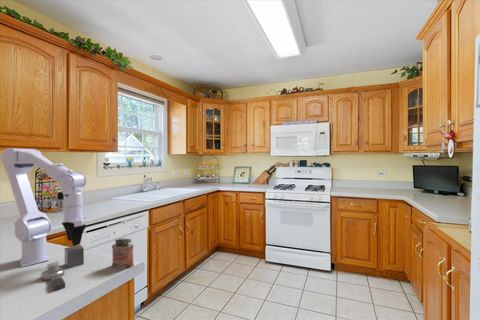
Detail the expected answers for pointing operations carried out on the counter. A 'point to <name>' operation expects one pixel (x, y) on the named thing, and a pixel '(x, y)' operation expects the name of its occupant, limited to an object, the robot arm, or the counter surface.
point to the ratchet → (54, 276)
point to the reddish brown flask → (122, 253)
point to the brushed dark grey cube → (74, 256)
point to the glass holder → (59, 202)
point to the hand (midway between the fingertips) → (74, 242)
